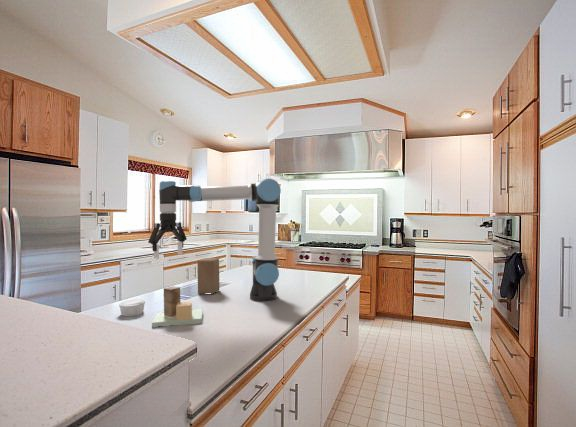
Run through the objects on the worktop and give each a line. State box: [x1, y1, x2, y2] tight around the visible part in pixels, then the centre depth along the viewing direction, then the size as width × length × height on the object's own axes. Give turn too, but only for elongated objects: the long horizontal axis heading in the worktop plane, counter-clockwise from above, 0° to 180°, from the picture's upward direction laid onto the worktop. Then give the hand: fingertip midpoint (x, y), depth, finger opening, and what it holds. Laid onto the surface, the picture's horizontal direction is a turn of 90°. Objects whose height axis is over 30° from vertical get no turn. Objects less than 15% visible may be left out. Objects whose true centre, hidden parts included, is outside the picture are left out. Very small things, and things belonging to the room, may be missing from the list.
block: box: [196, 257, 220, 295], centre depth 192 cm, size 10×10×20 cm
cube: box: [176, 301, 193, 320], centre depth 140 cm, size 6×6×6 cm
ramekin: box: [119, 299, 146, 317], centre depth 154 cm, size 11×11×5 cm
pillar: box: [163, 285, 181, 317], centre depth 144 cm, size 5×5×12 cm
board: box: [151, 308, 204, 328], centre depth 143 cm, size 20×14×2 cm
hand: (168, 256), depth 156 cm, fingers open, 13 cm apart
